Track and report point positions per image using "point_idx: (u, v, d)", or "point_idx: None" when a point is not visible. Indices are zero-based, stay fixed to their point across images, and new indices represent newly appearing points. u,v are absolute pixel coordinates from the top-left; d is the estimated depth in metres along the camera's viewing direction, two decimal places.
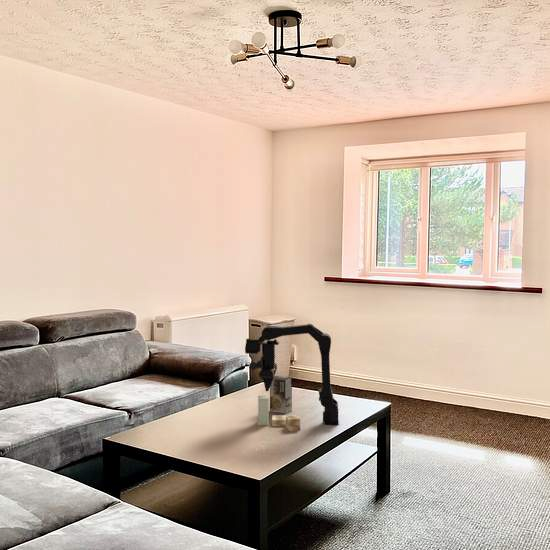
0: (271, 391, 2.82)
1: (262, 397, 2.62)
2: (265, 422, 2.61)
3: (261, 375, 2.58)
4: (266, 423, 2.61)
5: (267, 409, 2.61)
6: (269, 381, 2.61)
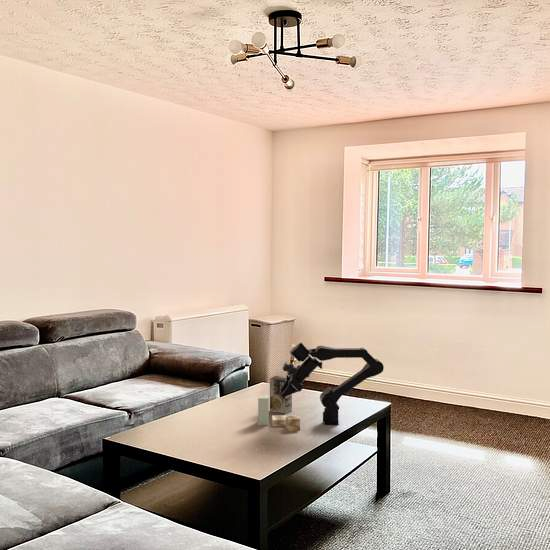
0: (271, 391, 2.82)
1: (262, 397, 2.62)
2: (265, 422, 2.61)
3: (292, 382, 2.54)
4: (266, 423, 2.61)
5: (267, 409, 2.61)
6: (291, 391, 2.57)
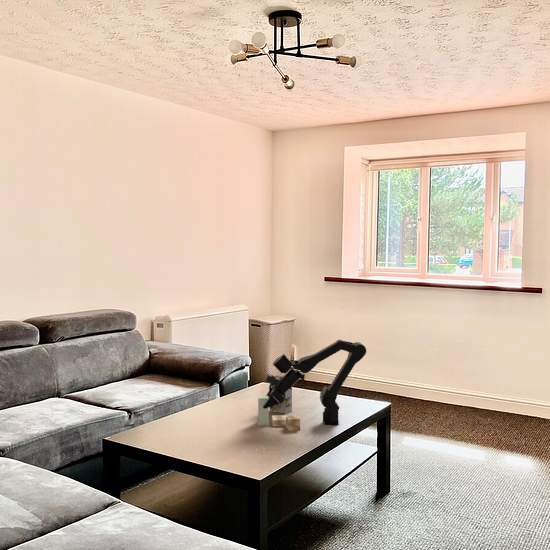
0: None
1: (262, 397, 2.62)
2: (265, 422, 2.61)
3: (274, 394, 2.54)
4: (266, 423, 2.61)
5: (267, 409, 2.61)
6: (273, 403, 2.57)
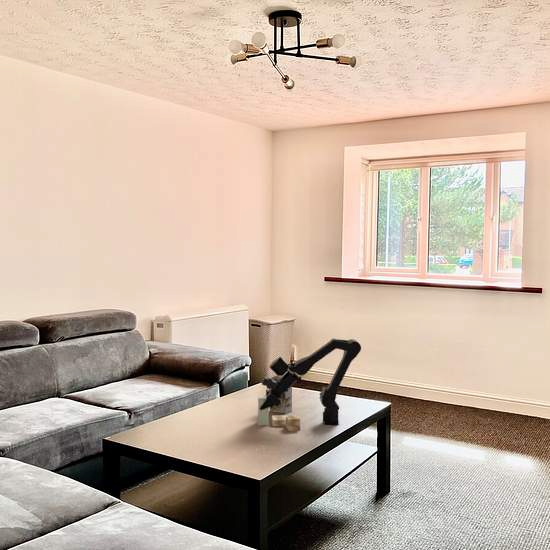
0: None
1: (262, 397, 2.62)
2: (265, 422, 2.61)
3: (270, 397, 2.54)
4: (266, 423, 2.61)
5: (267, 409, 2.61)
6: (269, 404, 2.59)
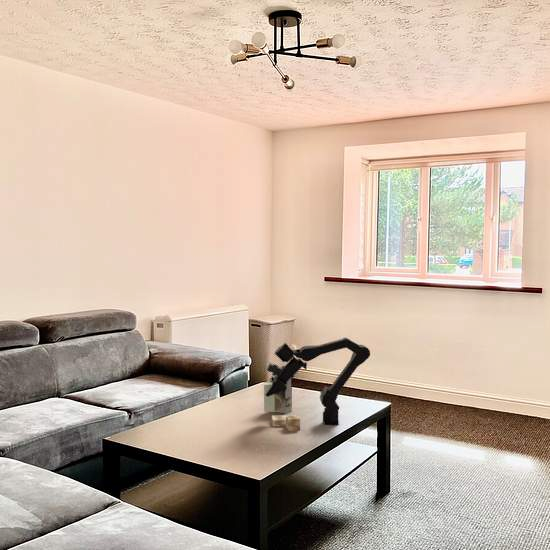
0: None
1: (268, 383, 2.62)
2: (271, 408, 2.61)
3: (276, 383, 2.53)
4: (272, 409, 2.61)
5: (273, 395, 2.61)
6: (275, 390, 2.59)
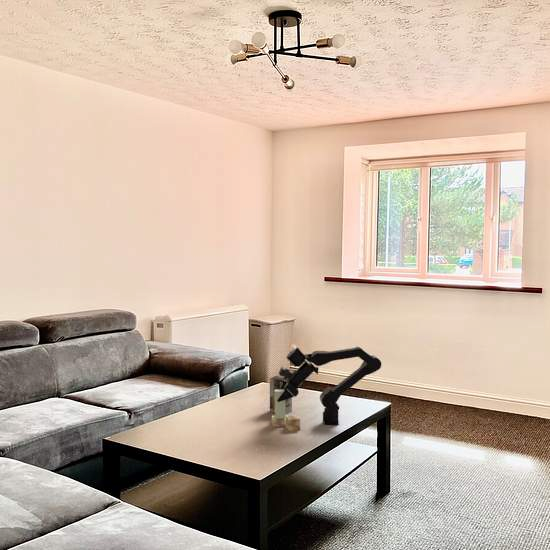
0: (271, 391, 2.82)
1: (279, 390, 2.63)
2: (282, 415, 2.62)
3: (288, 387, 2.54)
4: (283, 416, 2.62)
5: (284, 402, 2.62)
6: (287, 396, 2.57)
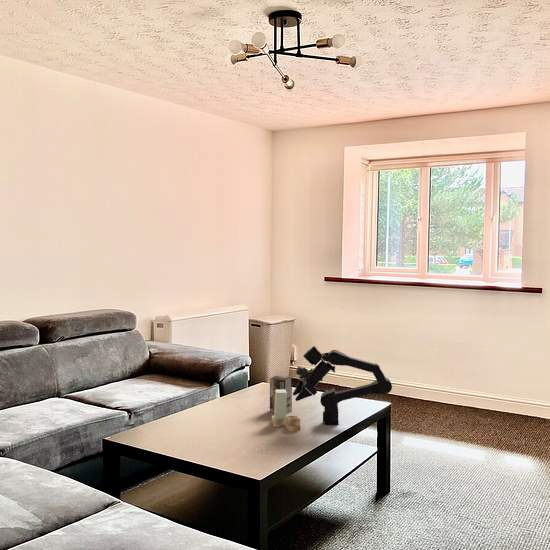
0: (271, 391, 2.82)
1: (280, 391, 2.62)
2: (282, 416, 2.62)
3: (307, 386, 2.54)
4: (283, 417, 2.62)
5: (285, 403, 2.61)
6: (305, 395, 2.58)
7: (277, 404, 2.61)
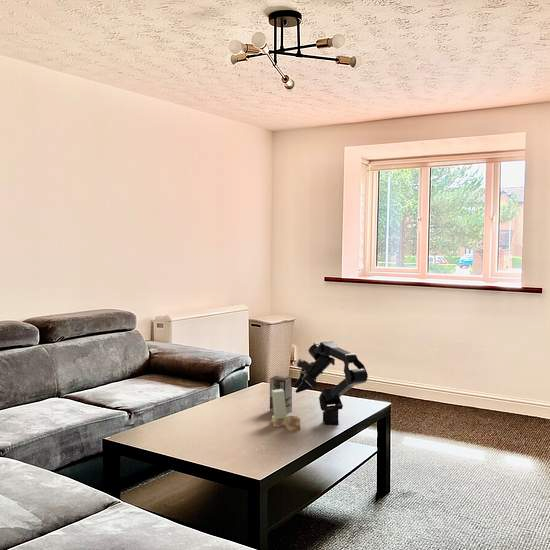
0: (271, 391, 2.82)
1: (277, 391, 2.62)
2: (282, 415, 2.62)
3: (306, 379, 2.60)
4: (284, 416, 2.62)
5: (284, 402, 2.62)
6: (305, 387, 2.64)
7: (276, 404, 2.61)
